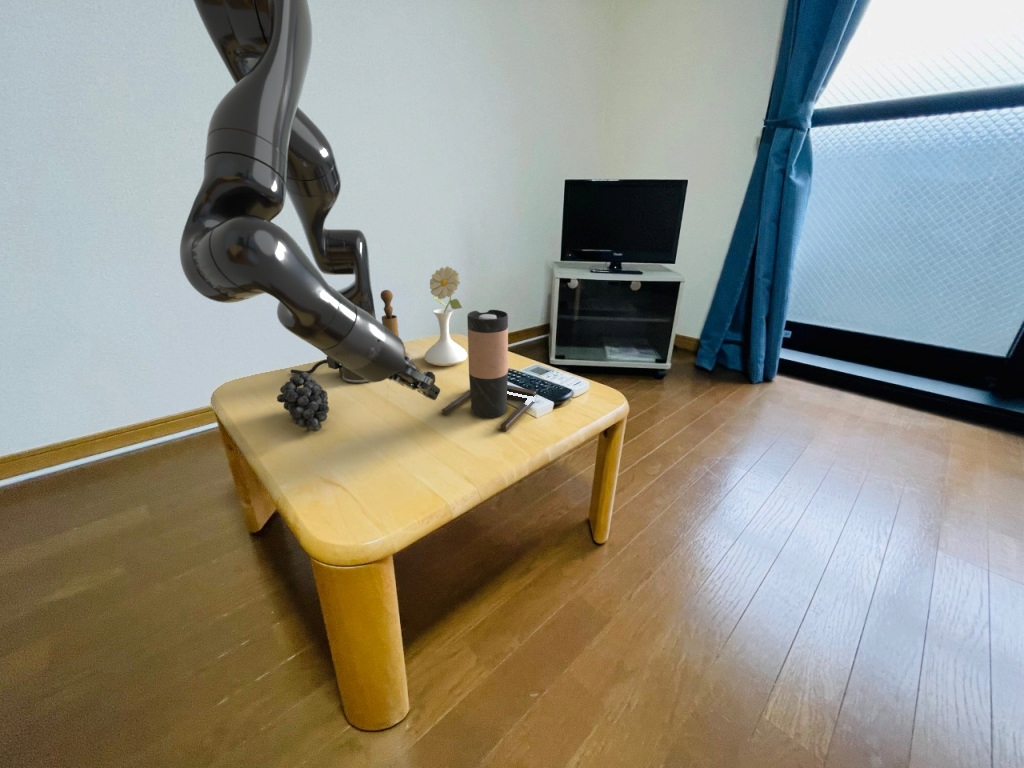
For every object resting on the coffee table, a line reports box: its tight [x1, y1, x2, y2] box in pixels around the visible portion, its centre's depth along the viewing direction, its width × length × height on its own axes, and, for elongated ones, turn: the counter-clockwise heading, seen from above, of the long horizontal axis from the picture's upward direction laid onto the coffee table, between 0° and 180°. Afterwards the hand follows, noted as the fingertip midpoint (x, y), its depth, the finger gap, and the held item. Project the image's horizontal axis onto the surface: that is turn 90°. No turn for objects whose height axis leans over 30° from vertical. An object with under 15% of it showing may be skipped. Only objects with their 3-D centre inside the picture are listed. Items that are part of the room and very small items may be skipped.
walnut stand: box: [441, 384, 537, 433], centre depth 81 cm, size 14×14×2 cm
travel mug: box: [467, 309, 509, 419], centre depth 76 cm, size 8×8×20 cm
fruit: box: [276, 372, 330, 432], centre depth 73 cm, size 9×8×15 cm
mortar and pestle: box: [380, 289, 407, 356], centre depth 104 cm, size 7×6×18 cm
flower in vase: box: [423, 265, 468, 367], centre depth 99 cm, size 13×11×25 cm
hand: (434, 394), depth 66 cm, fingers closed
